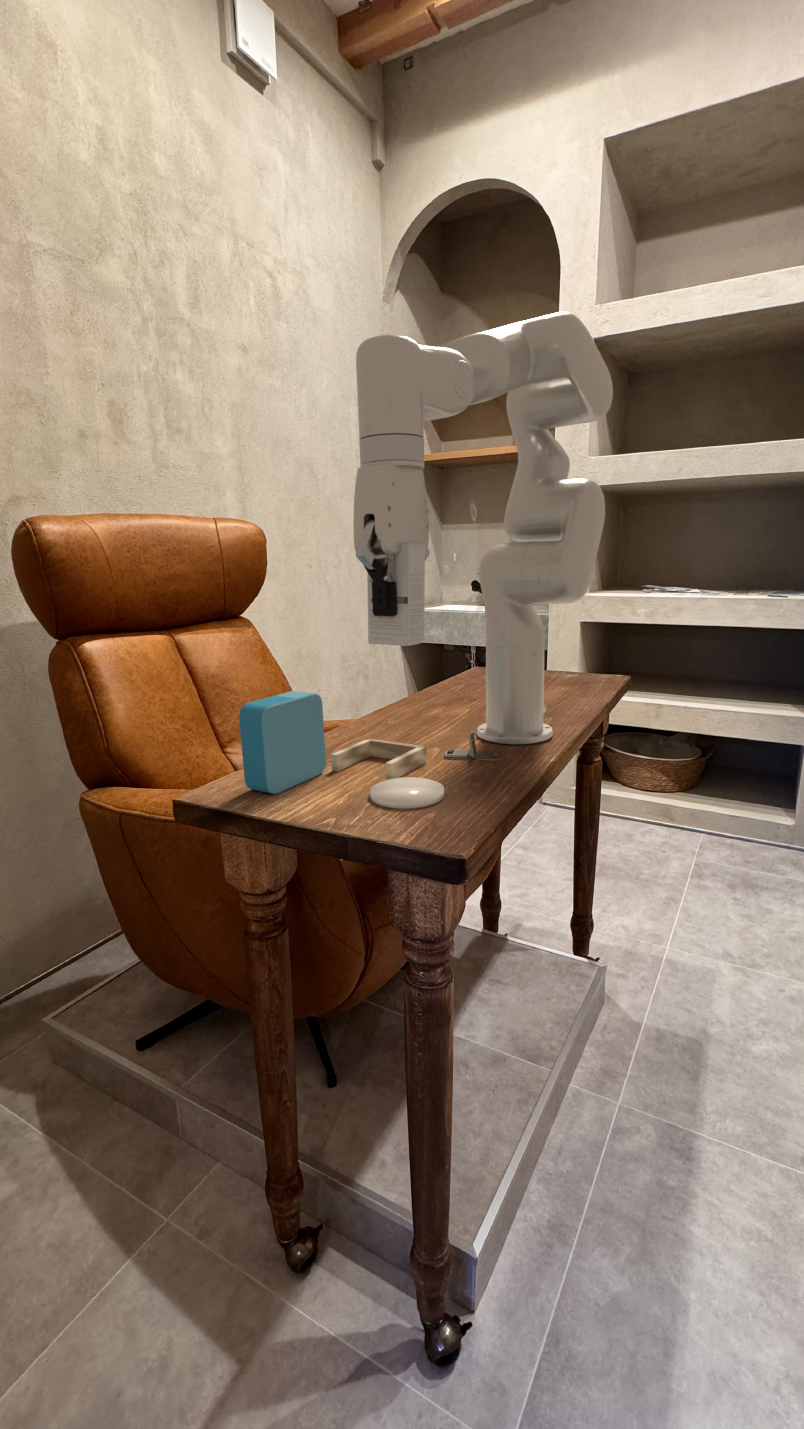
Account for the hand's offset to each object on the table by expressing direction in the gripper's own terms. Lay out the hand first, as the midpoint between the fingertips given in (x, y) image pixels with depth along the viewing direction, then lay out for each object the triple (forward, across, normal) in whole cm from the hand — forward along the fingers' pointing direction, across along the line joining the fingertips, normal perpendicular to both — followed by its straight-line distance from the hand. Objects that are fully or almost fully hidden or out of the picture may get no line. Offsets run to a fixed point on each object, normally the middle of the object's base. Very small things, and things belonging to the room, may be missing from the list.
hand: (396, 612), depth 82 cm
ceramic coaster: (+23, 0, +1) cm, 23 cm away
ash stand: (+23, -7, -9) cm, 26 cm away
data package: (+24, +4, -17) cm, 29 cm away
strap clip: (+24, -19, +1) cm, 30 cm away
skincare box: (+4, 0, 0) cm, 4 cm away
